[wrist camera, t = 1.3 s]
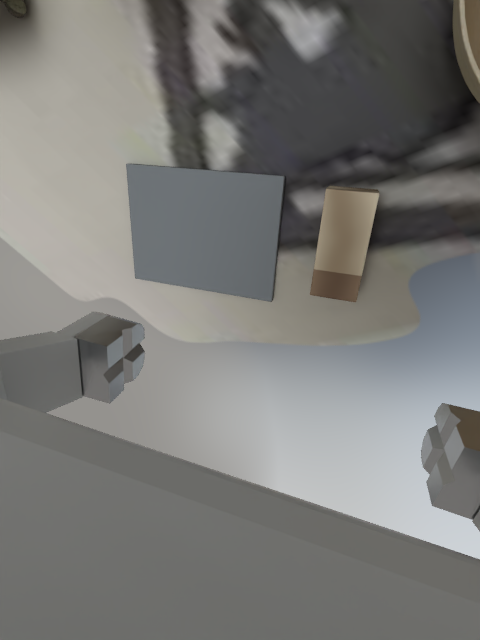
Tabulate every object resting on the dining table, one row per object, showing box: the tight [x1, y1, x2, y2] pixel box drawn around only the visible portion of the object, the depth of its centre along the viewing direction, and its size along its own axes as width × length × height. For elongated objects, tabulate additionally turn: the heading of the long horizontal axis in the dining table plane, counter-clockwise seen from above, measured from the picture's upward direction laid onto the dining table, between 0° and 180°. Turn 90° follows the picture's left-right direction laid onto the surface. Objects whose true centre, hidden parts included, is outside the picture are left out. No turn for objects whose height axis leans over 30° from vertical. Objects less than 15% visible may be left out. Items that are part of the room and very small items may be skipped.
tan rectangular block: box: [310, 186, 379, 302], centre depth 31 cm, size 4×9×4 cm, turn 176°
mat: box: [126, 164, 285, 302], centre depth 36 cm, size 16×12×1 cm
